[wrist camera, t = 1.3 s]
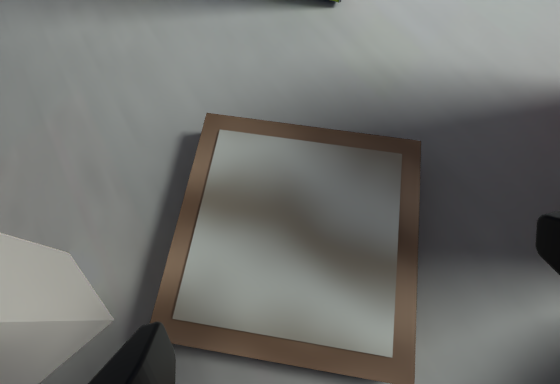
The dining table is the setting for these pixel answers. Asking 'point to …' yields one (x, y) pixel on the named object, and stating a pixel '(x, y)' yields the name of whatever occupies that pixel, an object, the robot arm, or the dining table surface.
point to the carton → (43, 310)
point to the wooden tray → (298, 249)
